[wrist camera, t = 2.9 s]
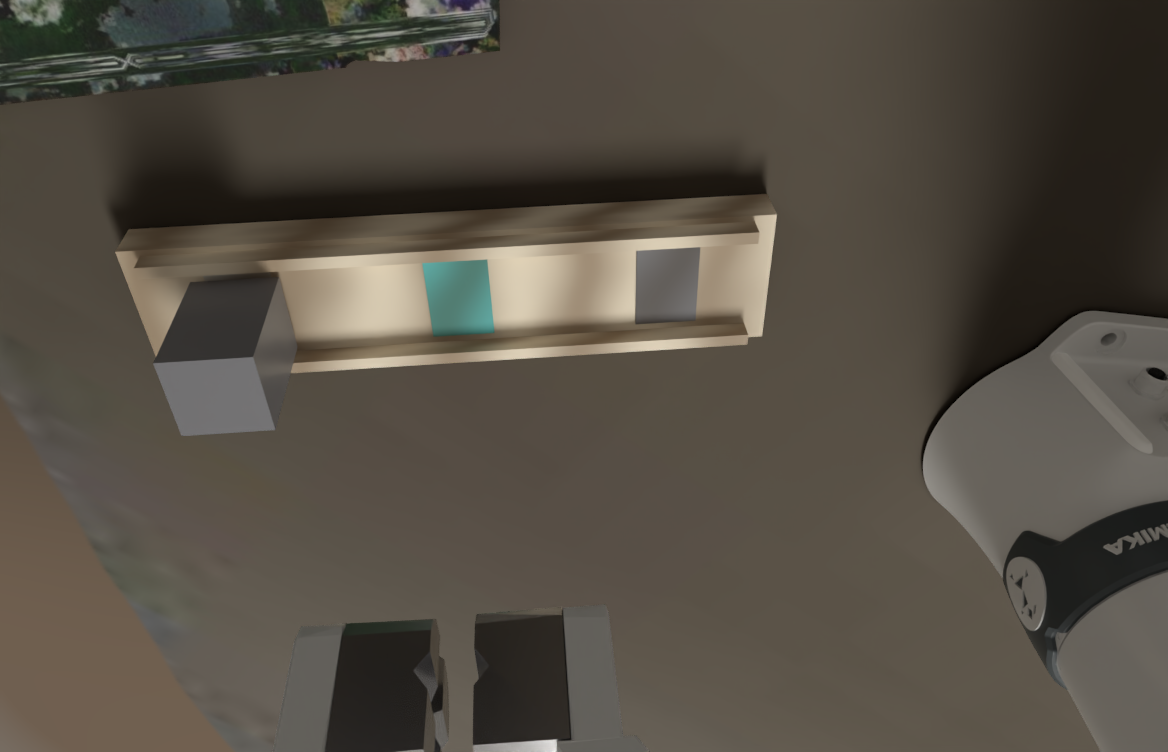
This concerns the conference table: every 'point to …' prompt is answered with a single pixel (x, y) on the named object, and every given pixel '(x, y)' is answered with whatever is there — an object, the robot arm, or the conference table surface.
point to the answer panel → (482, 279)
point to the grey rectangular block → (228, 356)
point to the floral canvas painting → (220, 40)
